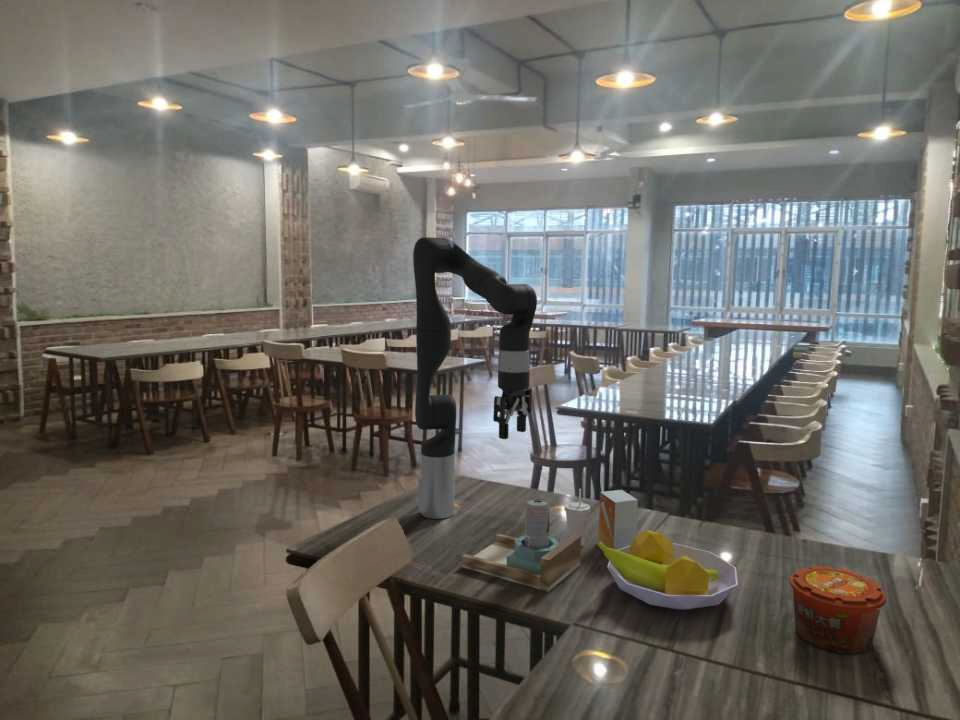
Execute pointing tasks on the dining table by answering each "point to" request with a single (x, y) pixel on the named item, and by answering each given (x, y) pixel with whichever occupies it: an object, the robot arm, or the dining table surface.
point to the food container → (836, 608)
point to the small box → (617, 519)
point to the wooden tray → (551, 570)
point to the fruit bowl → (670, 572)
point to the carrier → (528, 555)
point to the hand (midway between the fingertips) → (512, 435)
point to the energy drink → (537, 524)
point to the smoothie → (577, 518)
